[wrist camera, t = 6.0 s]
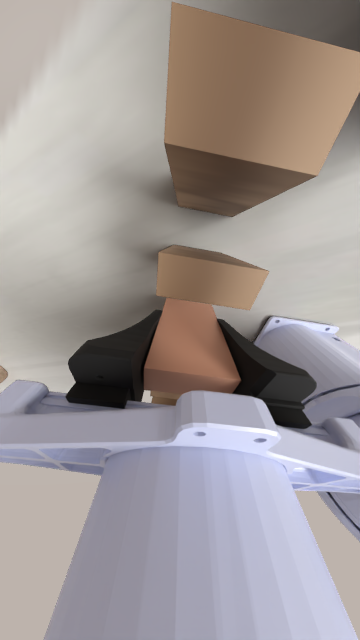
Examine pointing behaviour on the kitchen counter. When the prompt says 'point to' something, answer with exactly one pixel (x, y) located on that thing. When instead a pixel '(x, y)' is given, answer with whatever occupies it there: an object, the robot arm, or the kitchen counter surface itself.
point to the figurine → (3, 374)
